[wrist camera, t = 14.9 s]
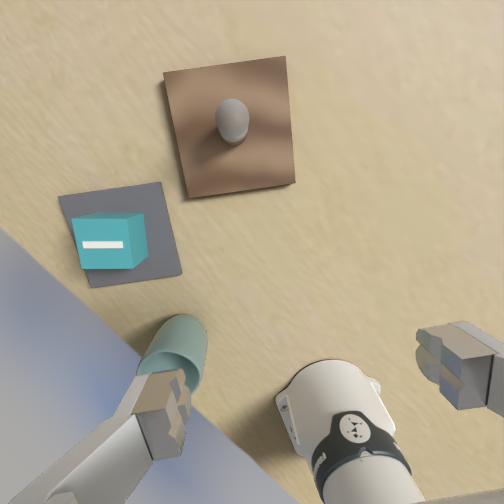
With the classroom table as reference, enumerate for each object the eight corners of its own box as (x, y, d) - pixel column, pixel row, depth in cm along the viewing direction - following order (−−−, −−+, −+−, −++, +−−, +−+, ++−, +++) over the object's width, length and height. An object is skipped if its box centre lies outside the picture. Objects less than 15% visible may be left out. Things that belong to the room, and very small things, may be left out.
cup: (194, 356, 40) (180, 412, 31) (152, 334, 39) (123, 385, 29) (220, 322, 39) (213, 369, 29) (177, 298, 37) (155, 339, 28)
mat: (182, 272, 36) (180, 275, 35) (95, 285, 36) (91, 288, 35) (161, 182, 32) (158, 182, 31) (63, 195, 32) (57, 196, 31)
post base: (293, 182, 33) (310, 184, 25) (191, 197, 33) (175, 203, 25) (283, 61, 29) (300, 16, 21) (166, 77, 29) (137, 38, 21)
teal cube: (143, 212, 32) (125, 219, 27) (148, 256, 34) (132, 269, 29) (96, 212, 32) (70, 218, 27) (104, 256, 34) (80, 269, 29)
